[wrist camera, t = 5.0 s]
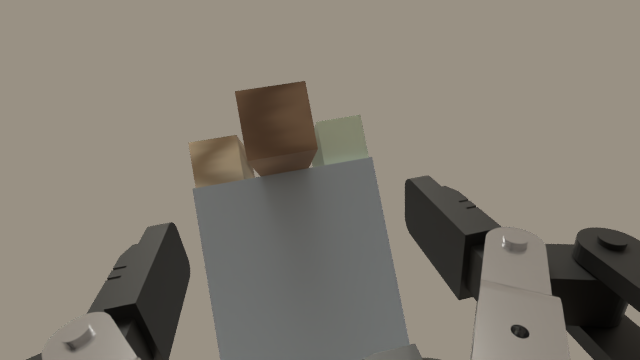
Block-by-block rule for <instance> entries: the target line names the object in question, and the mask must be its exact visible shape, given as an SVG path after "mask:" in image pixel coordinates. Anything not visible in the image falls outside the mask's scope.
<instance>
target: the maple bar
mask: <svg viewBox="0 0 640 360" xmlns="http://www.w3.org/2000/svg"><path fill="white" fill-rule="evenodd" d="M189 149H190V155H191V161H192V167H193V174H194V180H195V186H196V188H199V187H205V186H211V185H216V184H222V183H228V182H233V181H239V180H244V179H250V178H255V176H254V171H253V167H252V166H251V165H250V164H249V163H248V162H247V157H246V152H245V147H244V145H243V144H242V142H241V141H240V140H239V138H238V137H237V135H233V136H227V137H221V138H214V139H208V140H202V141H196V142H190V143H189Z"/></svg>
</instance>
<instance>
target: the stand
mask: <svg viewBox="0 0 640 360" xmlns="http://www.w3.org/2000/svg"><path fill="white" fill-rule="evenodd" d="M193 194H194V200H195V206H196V212H197V219H198V225H199V231H200V237H201V243H202V249H203V256H204V261H205V268H206V274H207V279H208V286H209V293H210V298H211V305H212V311H213V317H214V323H215V329H216V335H217V342H218V348H219V353H220V359H221V360H362V359H364V358H366V357H368V356H370V355H372V354H374V353H378V352H382V351H386V350H390V349H394V348H399V347H403V346H407V345H410V344H409V339H408V334H407V329H406V324H405V319H404V314H403V309H402V305H401V299H400V294H399V289H398V284H397V280H396V274H395V269H394V264H393V259H392V254H391V249H390V245H389V239H388V235H387V230H386V225H385V220H384V215H383V210H382V205H381V200H380V195H379V190H378V185H377V180H376V175H375V170H374V165H373V160H372V157H369V158H363V159H357V160H352V161H346V162H340V163H335V164H329V165H324V166H318V167H312V168H307V169H301V170H295V171H290V172H284V173H278V174H273V175H267V176H261V177H256V178H250V179H244V180H239V181H233V182H228V183H222V184H216V185H211V186H205V187H199V188H194V189H193Z"/></svg>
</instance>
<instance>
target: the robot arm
mask: <svg viewBox="0 0 640 360" xmlns="http://www.w3.org/2000/svg"><path fill="white" fill-rule="evenodd" d="M405 221H406V226H407V228H408V231H409V233H410V234H411V236H412V237H413V239H414V240H415V241H416V242H417V244H418V245H419V247H420V248H421V249H422V251H423V252H424V253H425V255H426V256H427V258H428V259H429V260H430V262H431V263H432V264H433V266H434V267H435V268H436V270H437V271H438V272H439V274H440V275H441V277H442V278H443V279H444V281H445V282H446V283H447V285H448V286H449V287H450V289H451V290H452V291H453V293H454V294H455V296H456V297H457V298H458V300H462V299H466V298H470V297H474V298H475V300H476V301H477V306H476V314H475V322H474V331H473V339H472V347H471V355H470V360H570V353H569V347H568V341H567V334H566V330H567V332H568V333H569V334H570V335H571V336H572V337H573V338H574V339H575V340H576V341H577V342H578V343H579V344H580V346H582V348H583V349H584V350H585V351H586V352H587V353H588V354H589V355H590V356H591V357H592V358H593V359H594V360H640V327H639V326H637V325H636V324H635V323H634V322H633V321H632V320H630V319H629V318H628V317H627V316H626V315H625V311H626V309H627V306H628V304H630V305H631V306H633V307H634V308H635V309H636V310H638V311H639V312H640V241H639V240H637V239H636V238H634V237H632V236H629V235H627V234H625V233H622V232H619V231H616V230H611V229H606V228H587V229H583V230H581V231H580V232H578V234H577V237H576V240H575V244H574V245H568V244H544V242H543V241H542V240H541V239H540V238H539V237H538V236H536V235H534V234H533V233H531V232H528V231H526V230H522V229H518V228H512V227H501V226H500V225H499V224H497V223H496V222H495V221H494V220H493V219H491V218H490V217H489V216H488V215H486V214H485V213H484V212H483V211H482V210H480V209H479V208H478V207H477V208H476V205H474V204H473V203H472V202H471V201H468V199H467V198H466V197H465V196H463V195H462V194H461V193H460V192H458V191H456V190H454V189H451V188H449V187H446V186H443V187H441V186H440V185H439V184H438V183H437V182H436V181H435V180H433V179H432V178H431V177H430V176H422V177H417V178H411V179H407V180H406V183H405ZM189 278H190V265H189V260H188V257H187V255H186V252H185V249H184V247H183V244H182V241H181V238H180V236H179V233H178V230H177V228H176V226H175V224H174V223H172V222H171V223H166V224H160V225H155V226H150V227H147V229H146V230H145V232H144V234H143V236H142V238H141V240H140V242H139V243H138V244H135V245H132V246H131V247H130V248H129V249H128V250H127V251H125V253H123V254H122V255H121V256H120V257H119V259H118V261H117V263H116V264H115V266H114V268H113V271H111V273H110V275H109V276H108V278H107V279H108V280H107V281H105V283H104V285H103V287H102V289H101V290H100V292H99V293H98V295H97V297H96V299H95V300H94V302H93V304H92V305H91V307H90V309H89V311H88V312H87V314H85V315H82V316H80V317H78V318H76V319H74V320H72V321H70V322H68V323H67V324H65V325H64V326H63V327H61V328H60V329H59V330H58V331H56V332H55V333H54V334H53V336H51V337H50V339H49V340H48V341H47V342H46V344H45V346H44V348H43V350H42V353H40V354H38V355H36V356H34V357H31V358H29V359H27V360H169V356H170V352H171V348H172V344H173V341H174V336H175V333H176V329H177V325H178V321H179V317H180V313H181V310H182V306H183V301H184V298H185V294H186V290H187V286H188V282H189ZM362 360H439V359H432V358H422V357H421V355H420V353H419V351H418V349H417V347H416V345H415V344H411V345H407V346H403V347H399V348H394V349H390V350H386V351H382V352H378V353H374V354H372V355H370V356H368V357H366V358H364V359H362Z"/></svg>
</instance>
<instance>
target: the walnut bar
mask: <svg viewBox="0 0 640 360" xmlns="http://www.w3.org/2000/svg"><path fill="white" fill-rule="evenodd" d="M235 95H236V100H237V106H238V112H239V117H240V123H241V129H242V134H243V140H244V146H245V152H246V157H247V162H248V163H249V164H250V165H251V166H252V167H253V168H254V169H255V171H256V172H257V173H258V174H259V175H260V176H267V175H273V174H278V173H284V172H290V171H295V170H301V169H307V168H309V166H310V164H311V162H312V160H313V158H314V156H315V154H316V152H317V150H318V146H317V141H316V136H315V130H314V126H313V120H312V115H311V109H310V104H309V99H308V94H307V89H306V83H305V81H302V82H295V83H289V84H282V85H276V86H268V87H262V88H255V89H248V90H242V91H235Z"/></svg>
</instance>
